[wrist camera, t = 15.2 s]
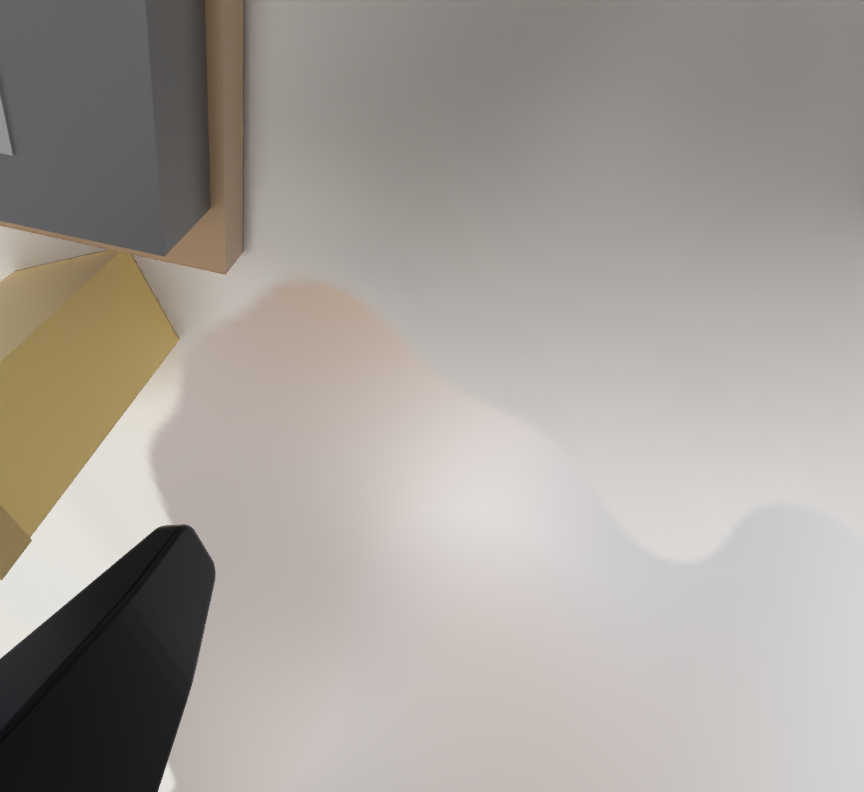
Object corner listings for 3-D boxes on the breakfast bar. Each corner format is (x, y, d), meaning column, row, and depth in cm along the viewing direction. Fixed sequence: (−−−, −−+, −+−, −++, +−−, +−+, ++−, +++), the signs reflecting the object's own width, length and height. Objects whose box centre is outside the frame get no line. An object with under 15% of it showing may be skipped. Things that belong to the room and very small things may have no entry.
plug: (126, 243, 22) (-112, 463, 14) (181, 340, 24) (2, 579, 16) (13, 270, 23) (-269, 486, 15) (74, 360, 25) (-145, 593, 17)
